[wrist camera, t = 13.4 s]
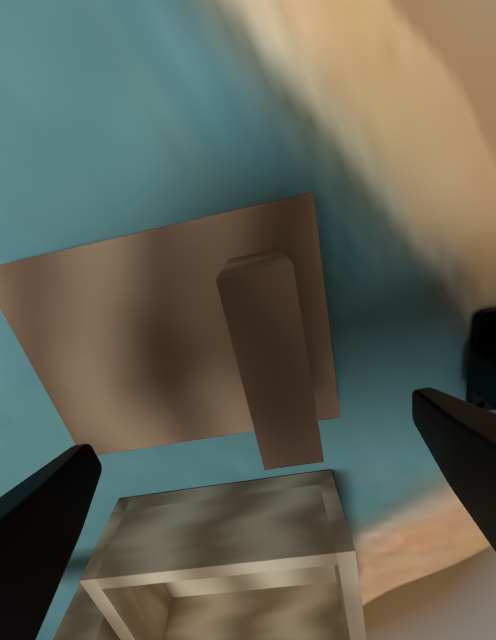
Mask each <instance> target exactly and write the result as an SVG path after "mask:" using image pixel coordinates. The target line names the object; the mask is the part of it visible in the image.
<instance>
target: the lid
mask: <svg viewBox="0 0 496 640" xmlns="http://www.w3.org/2000/svg"><path fill="white" fill-rule="evenodd" d="M0 308H1V310H2V312H3V314H4V316H5V317H6V319H7V321H8V323H9V325H10V326H11V328H12V330H13V332H14V334H15V335H16V337H17V339H18V341H19V343H20V344H21V346H22V348H23V350H24V352H25V354H26V355H27V357H28V359H29V361H30V363H31V364H32V366H33V368H34V370H35V372H36V373H37V375H38V377H39V379H40V381H41V382H42V384H43V386H44V388H45V390H46V391H47V393H48V395H49V397H50V399H51V400H52V402H53V404H54V406H55V408H56V409H57V411H58V413H59V415H60V417H61V418H62V420H63V422H64V424H65V426H66V427H67V429H68V431H69V433H70V435H71V436H72V438H73V440H74V442H75V444H76V445H79V444H86V443H87V444H90V445H91V446H92V448H93V449H94V451H95V453H96V455H102V454H108V453H115V452H121V451H128V450H134V449H140V448H147V447H153V446H160V445H166V444H173V443H179V442H185V441H192V440H198V439H205V438H211V437H217V436H224V435H230V434H237V433H243V432H249V431H255V434H256V438H257V442H258V446H259V450H260V453H261V457H262V461H263V465H264V469H265V470H268V469H275V468H282V467H289V466H296V465H303V464H311V463H318V462H324V459H323V452H322V446H321V439H320V433H319V427H318V421H320V420H326V419H333V418H339V417H340V408H339V400H338V392H337V383H336V375H335V367H334V358H333V350H332V342H331V333H330V325H329V317H328V308H327V300H326V292H325V283H324V275H323V267H322V258H321V250H320V242H319V233H318V225H317V217H316V208H315V200H314V192H310V193H306V194H301V195H297V196H293V197H289V198H284V199H280V200H276V201H271V202H267V203H263V204H259V205H254V206H250V207H246V208H241V209H237V210H233V211H229V212H224V213H220V214H216V215H212V216H207V217H203V218H199V219H194V220H190V221H186V222H182V223H177V224H173V225H169V226H165V227H160V228H156V229H152V230H147V231H143V232H139V233H135V234H130V235H126V236H122V237H118V238H113V239H109V240H105V241H100V242H96V243H92V244H88V245H83V246H79V247H75V248H71V249H66V250H62V251H58V252H53V253H49V254H45V255H41V256H36V257H32V258H28V259H23V260H19V261H15V262H11V263H6V264H2V265H0Z"/></svg>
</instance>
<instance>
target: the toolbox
mask: <svg viewBox="0 0 496 640" xmlns="http://www.w3.org/2000/svg"><path fill="white" fill-rule="evenodd" d="M79 581H80V584H79V586H78V588H77V591H76V593H75V595H74V597H73V599H72V601H71V603H70V605H69V607H68V609H67V611H66V613H65V616H64V618H63V620H62V622H61V624H60V626H59V628H58V630H57V632H56V634H55V636H54V638H53V640H366V633H365V625H364V617H363V609H362V601H361V593H360V585H359V577H358V569H357V561H356V553H355V549H354V545H353V542H352V539H351V535H350V532H349V529H348V525H347V522H346V519H345V515H344V512H343V509H342V506H341V502H340V499H339V496H338V492H337V489H336V486H335V482H334V479H333V476H332V473H331V470H325V471H317V472H310V473H303V474H296V475H288V476H281V477H274V478H266V479H259V480H252V481H245V482H237V483H230V484H223V485H216V486H208V487H201V488H194V489H187V490H179V491H172V492H165V493H157V494H150V495H143V496H136V497H128V498H121V499H119V500H118V502H117V504H116V506H115V508H114V510H113V512H112V514H111V516H110V518H109V520H108V522H107V524H106V527H105V529H104V531H103V533H102V535H101V537H100V539H99V541H98V543H97V545H96V547H95V549H94V551H93V553H92V555H91V557H90V559H89V562H88V564H87V566H86V568H85V570H84V572H83V574H82V576H81V578H80V580H79Z"/></svg>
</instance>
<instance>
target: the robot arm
mask: <svg viewBox="0 0 496 640" xmlns="http://www.w3.org/2000/svg"><path fill="white" fill-rule="evenodd" d="M486 317H488V318H487V320H486V321H485V322H484V319H485V318H486ZM477 403H478V404H477ZM488 410H496V307H495V308H490V309H484V310H481V311H479V312H478V313H476V315H475V316H474V319H473V328H472V342H471V352H470V363H469V377H468V397H467V402H465V401H463V400H461V399H458V398H456V397H453V396H451V395H448V394H446V393H443V392H441V391H438V390H436V389H433V388H422V389H416V390H414V391H413V394H412V416H413V420H414V423H415V425H416V427H417V429H418V431H419V432H420V434H421V436H422V438H423V440H424V441H425V443H426V445H427V447H428V448H429V450H430V452H431V454H432V456H433V457H434V459H435V461H436V463H437V464H438V466H439V468H440V470H441V471H442V473H443V475H444V477H445V478H446V480H447V482H448V483H449V485H450V486H451V488H452V489H453V491H454V492H455V494H456V495H457V497H458V498H459V500H460V501H461V503H462V504H463V506H464V507H465V508H466V510H467V511H468V513H469V514H470V516H471V517H472V518H473V520H474V521H475V523H476V524H477V526H478V527H479V529H480V530H481V531H482V533H483V534H484V536H485V537H486V539H487V540H488V541H489V543H490V544H491V546H492V547H493V548H494V550H495V551H496V414H495V413H492V412H490V411H488ZM101 470H102V466H101V463H100V461H99V459H98V457H97V455H96V453H95V451H94V449H93V448H92V446H91V445H90V444H87V443H86V444H79V445H75V446H72V447H71V448H69V449H68V450H67V451H65V452H64V453H62V454H61V455H59V456H58V457H57V458H55V459H54V460H52V461H51V462H49V463H48V464H47V465H45V466H44V467H42V468H41V469H40V470H38V471H37V472H35V473H34V474H32V475H31V476H30V477H28V478H27V479H25V480H24V481H23V482H21V483H20V484H18V485H17V486H15V487H14V488H13V489H11V490H10V491H8V492H7V493H6V494H4V495H3V496H1V497H0V640H36V638H37V635H38V633H39V630H40V628H41V626H42V623H43V621H44V619H45V616H46V614H47V612H48V609H49V607H50V605H51V602H52V600H53V598H54V595H55V593H56V591H57V588H58V586H59V583H60V581H61V579H62V576H63V574H64V572H65V569H66V567H67V565H68V562H69V560H70V558H71V555H72V553H73V551H74V548H75V546H76V543H77V541H78V539H79V536H80V534H81V531H82V528H83V525H84V523H85V520H86V517H87V514H88V511H89V508H90V505H91V502H92V499H93V496H94V493H95V490H96V487H97V484H98V481H99V478H100V475H101Z"/></svg>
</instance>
